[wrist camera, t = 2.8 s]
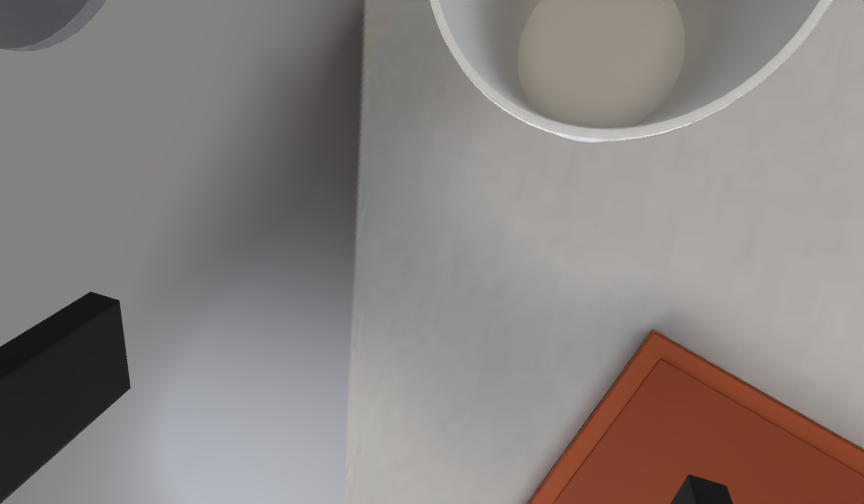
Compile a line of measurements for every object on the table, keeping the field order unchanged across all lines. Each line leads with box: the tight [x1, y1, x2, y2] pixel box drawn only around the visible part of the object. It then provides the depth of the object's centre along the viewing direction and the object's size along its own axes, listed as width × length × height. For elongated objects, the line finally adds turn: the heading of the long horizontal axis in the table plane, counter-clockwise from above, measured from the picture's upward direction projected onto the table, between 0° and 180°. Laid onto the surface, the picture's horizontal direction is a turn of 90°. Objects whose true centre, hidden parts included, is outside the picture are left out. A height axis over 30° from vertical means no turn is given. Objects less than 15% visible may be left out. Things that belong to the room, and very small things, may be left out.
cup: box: [430, 0, 833, 142], centre depth 18 cm, size 8×8×16 cm
